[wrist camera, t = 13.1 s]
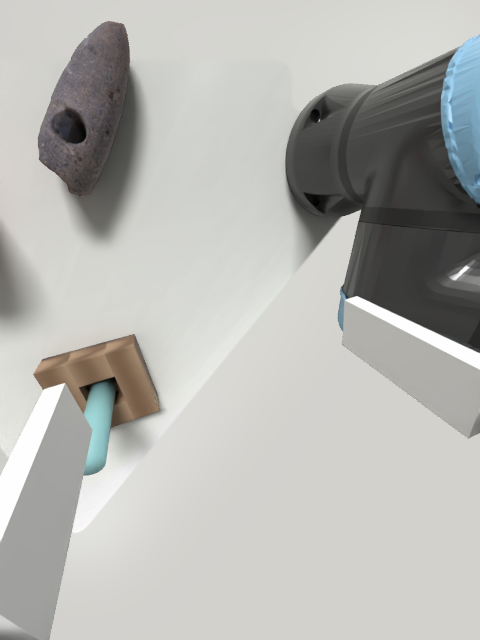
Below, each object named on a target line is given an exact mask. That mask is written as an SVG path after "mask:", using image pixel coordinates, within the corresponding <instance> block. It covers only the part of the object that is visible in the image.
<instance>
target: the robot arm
mask: <svg viewBox="0 0 480 640" xmlns="http://www.w3.org/2000/svg"><path fill="white" fill-rule="evenodd" d="M286 171H287V177H288V182H289V185H290V188H291V190H292V193H293V194H294V196H295V198H296V199H297V201H298V202H299V203H300V205H301V206H302V207H303V208H305V209H306V210H307V211H309V212H311V213H313V214H315V215H318V216H325V217H341V216H346V215H349V214H351V213H354V212H356V211H359V210H361V209H362V210H361V214H360V218H359V221H358V226H357V231H356V235H355V239H354V244H353V248H352V253H351V257H350V261H349V265H348V270H347V274H346V278H345V282H344V285H343V286H342V287H341V290H340V295H341V300H340V305H339V311H338V322H339V325H340V328H341V329H342V331H343V344H342V345H343V346H345V347H346V348H347V349H349V350H350V351H351V352H353V353H354V354H355V355H357V356H358V357H359V358H361V359H362V360H364V361H365V362H366V363H367V364H369V365H370V366H371V367H373V368H374V369H376V370H377V371H378V372H380V373H381V374H382V375H384V376H385V377H386V378H388V379H389V380H390V381H392V382H393V383H394V384H396V385H397V386H398V387H400V388H401V389H402V390H404V391H405V392H406V393H408V394H409V395H410V396H412V397H413V398H415V399H416V400H417V401H418V402H420V403H421V404H422V405H424V406H425V407H427V408H428V409H429V410H431V411H432V412H433V413H435V414H436V415H437V416H439V417H440V418H442V419H443V420H444V421H445V422H447V423H448V424H449V425H451V426H452V427H453V428H455V429H456V430H458V431H459V432H460V433H461V434H463V435H464V436H465V437H467V438H470V437H472V436H474V435H476V434H478V433H480V35H478V36H475V37H473V38H471V39H469V40H468V41H466V42H465V43H464V44H463V45H462V46H460V47H458V48H456V49H454V50H452V51H449V52H447V53H445V54H443V55H441V56H439V57H437V58H435V59H432V60H431V61H428V62H426V63H424V64H422V65H420V66H418V67H416V68H414V69H411V70H410V71H407V72H405V73H403V74H401V75H399V76H397V77H395V78H393V79H391V80H389V81H386V82H385V83H382V84H380V85H378V86H377V85H363V84H343V85H339V86H336V87H333V88H331V89H329V90H327V91H326V92H324V93H322V94H320V95H319V96H317V97H316V98H314V99H313V100H312V101H311V102H310V103H309V104H308V105H307V106H306V107H305V108H304V109H303V111H302V112H301V113H300V115H299V116H298V118H297V120H296V122H295V124H294V126H293V128H292V131H291V134H290V137H289V141H288V145H287V152H286ZM92 431H93V430H92V428H91V426H90V425H89V423H88V421H87V420H86V418H85V416H84V414H83V413H82V411H81V409H80V408H79V406H78V404H77V402H76V401H75V399H74V397H73V396H72V394H71V392H70V390H69V389H68V387H67V385H66V384H65V383H63V384H60V385H57V386H53V387H50V388H46V389H44V390H43V392H42V394H41V396H40V398H39V400H38V402H37V404H36V406H35V408H34V410H33V412H32V414H31V416H30V418H29V420H28V422H27V424H26V426H25V428H24V430H23V432H22V434H21V436H20V438H19V440H18V442H17V444H16V446H15V448H14V450H13V452H12V454H11V456H10V458H9V460H8V462H7V464H6V466H5V468H4V470H3V472H2V474H1V476H0V640H49V638H50V633H51V628H52V624H53V619H54V614H55V609H56V604H57V599H58V594H59V590H60V585H61V580H62V575H63V571H64V566H65V561H66V556H67V551H68V546H69V541H70V537H71V532H72V527H73V522H74V518H75V513H76V508H77V503H78V498H79V494H80V489H81V484H82V479H83V474H84V469H85V465H86V460H87V455H88V450H89V445H90V441H91V436H92Z"/></svg>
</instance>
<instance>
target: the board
mask: <svg viewBox="0 0 480 640" xmlns="http://www.w3.org/2000/svg"><path fill="white" fill-rule="evenodd" d="M33 375H34V376H35V378H36V379H37V381H38V383H39V384H40V386H41V387H42V389H43V390H44V389H46V388H50V387H53V386H57V385H60V384H63V383H65V384H66V385H67V387H68V389H69V390H70V392H71V394H72V396H73V397H74V399H75V401H76V402H77V404H78V406H79V408H80V409H81V411H82V413H83V414H84V411H85V408H86V404H87V400H88V396H89V393H90V389H91V385H92V383H95V382H98V381H101V380H105V379H108V378H111V377H115V378H116V381H117V383H116V390H115V397H114V405H113V412H112V420H111V427H114V426H117V425H119V424H122V423H125V422H128V421H131V420H134V419H137V418H140V417H143V416H146V415H149V414H151V413H154V412H157V411H159V402H158V395H157V392H156V390H155V387H154V384H153V382H152V379H151V376H150V374H149V371H148V369H147V366H146V363H145V361H144V358H143V356H142V353H141V350H140V348H139V345H138V343H137V340H136V337H135V335H134V334H133V335H129V336H126V337H122V338H118V339H115V340H111V341H108V342H104V343H100V344H97V345H93V346H89V347H86V348H82V349H78V350H75V351H71V352H67V353H64V354H60V355H57V356H53V357H49V358H46V359H42V361H41V363H40V364H39V366H38V368H37V369H36V371H35V372H34V374H33ZM111 427H110V428H111Z"/></svg>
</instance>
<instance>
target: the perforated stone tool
mask: <svg viewBox="0 0 480 640" xmlns="http://www.w3.org/2000/svg"><path fill="white" fill-rule="evenodd" d="M127 36H128V35H127V33H126V29H125V27H124V25H123V24H122V23H115V22H110V21H108V22H105V23H102V24H101V25H100V26H98V27H97V28H96V29H95V30H94V31H93V32H92V33H90V34H89V36H88V37H87V38H85V39H84V40H83V41H82V42H81V43H80V45H79V46H78V47H77V49H76V50H75V52H74V53H73V55H72V57H71V61H70V62H69V63H68V65H67V67H66V68H65V69H64V71H63V73H62V75H61V77H60V79H59V81H58V83H57V85H56V87H55V89H54V92H53V94H52V97H51V102H50V104H49V107H48V109H47V112H46V115H45V117H44V120H43V123H42V125H41V128H40V133H39V136H38V148H39V160H40V161H41V162H42V163H43V164H44V165H45V166H47V167H48V169H50V170H52V171H53V172H55V173H56V174H57V175H58V176H59V177H60V178H61V179H62V180H63V181H64V182H66V183H67V185H68V190H69V192H70V193H72V194H76V195H79V196H81V195H88V194H90V192H91V191H92V189H93V188H94V186H95V184H96V182H97V180H98V178H99V176H100V174H101V171H102V169H103V167H104V165H105V162H106V160H107V158H108V155H109V152H110V150H111V147H112V145H113V142H114V139H115V135H116V132H117V129H118V126H119V122H120V118H121V114H122V110H123V105H124V101H125V96H126V90H127V85H128V77H129V63H130V52H129V42H128V37H127Z"/></svg>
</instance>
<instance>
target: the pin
mask: <svg viewBox="0 0 480 640" xmlns="http://www.w3.org/2000/svg"><path fill="white" fill-rule="evenodd" d="M116 383H117V381H116V378H115V377H111V378H108V379H105V380H101V381H98V382H95V383H92V385H91V389H90V393H89V396H88V400H87V404H86V408H85V411H84V416H85V418H86V420H87V421H88V423H89V425H90V426H91V428H92V430H93V431H92V436H91V441H90V445H89V450H88V455H87V460H86V465H85V469H84V474H83V475H92V474H95V473H97V472H99V471H100V470H102V469H103V467H104V466H105V464H106V457H107V449H108V442H109V434H110V427H111V420H112V412H113V405H114V397H115V390H116Z"/></svg>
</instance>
